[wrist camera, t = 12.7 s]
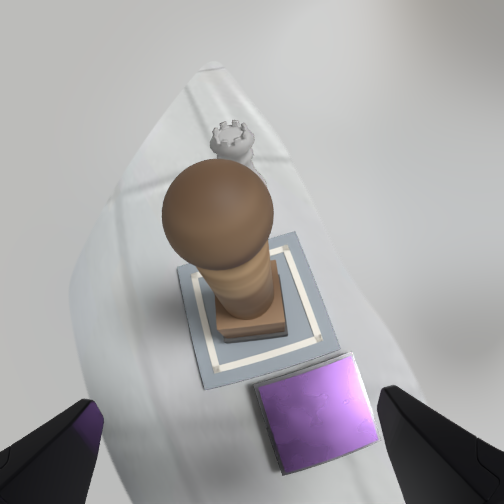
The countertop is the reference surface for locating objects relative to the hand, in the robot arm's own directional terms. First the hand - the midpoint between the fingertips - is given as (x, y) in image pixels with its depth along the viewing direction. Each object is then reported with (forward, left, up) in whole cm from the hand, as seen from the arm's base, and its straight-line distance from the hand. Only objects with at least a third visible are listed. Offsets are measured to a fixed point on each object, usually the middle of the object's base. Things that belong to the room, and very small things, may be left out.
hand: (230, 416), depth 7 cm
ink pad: (-2, -3, -12) cm, 13 cm away
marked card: (+7, -1, -12) cm, 14 cm away
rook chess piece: (+17, -3, -13) cm, 21 cm away
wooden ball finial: (+6, -1, -12) cm, 14 cm away
